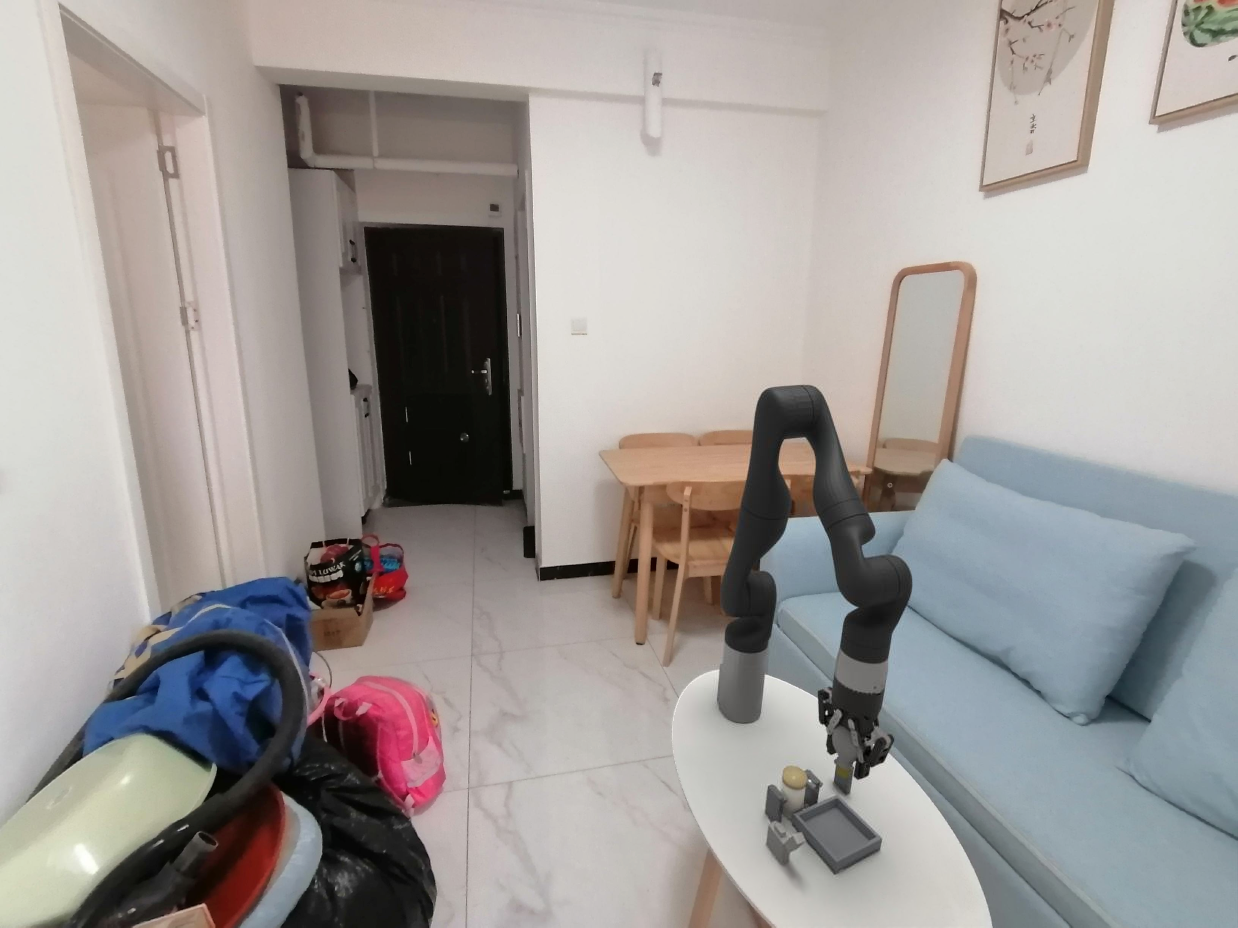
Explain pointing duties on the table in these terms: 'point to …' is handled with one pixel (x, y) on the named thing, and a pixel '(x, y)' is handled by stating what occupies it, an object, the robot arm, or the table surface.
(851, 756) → the light bulb
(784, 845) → the lighter
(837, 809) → the tray
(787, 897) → the table surface
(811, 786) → the clip block
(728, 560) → the robot arm
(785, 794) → the cream domed cylinder
